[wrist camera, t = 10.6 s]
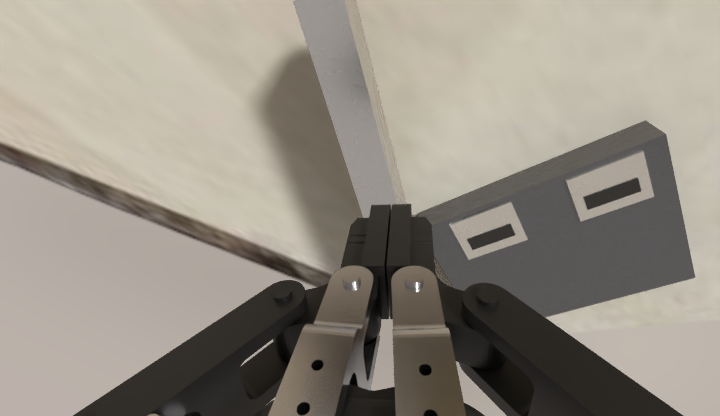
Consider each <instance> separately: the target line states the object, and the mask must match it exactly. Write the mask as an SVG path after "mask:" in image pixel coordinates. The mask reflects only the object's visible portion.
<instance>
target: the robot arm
mask: <svg viewBox="0 0 720 416" xmlns="http://www.w3.org/2000/svg"><path fill="white" fill-rule="evenodd" d="M389 306H390V318H391V319H393V355H394V382H395V387H392V388H387V389H382V390H377V391H371V384H372V379H373V373H374V368H375V362H376V357H377V351H378V346H379V340H380V336H379V332H380V327H381V319H389ZM272 339H273V341H274V342H273V343H271V344H270V345H268V346H267V347H266V348H264V349H263V350H262V351H261V352H259V353H258V354H257V355H255V356H254V357H253V358H251V359H250V360H249V361H247V362H246V363H245V364H243V365H242V366H241V364H242V363H243V362H244V361H245V360H246V359H247V358H248V357H250V356H251V355H252V354H254V353H255V352H256V351H257V350H259V349H260V348H262V347H263V346H264V345H265V344H267V343H268V342H269V341H271V340H272ZM456 361H457V362H459V364H460V366H461V368H462V370H463V371H464V372H465V374H467V376H468V377H469V378H470V379H471V380H472V381H473V382H474V383H475V384H476V385H477V386H478V387H479V388H480V389H481V390H482V391H483V392H484V393H485V394H486V395H487V396H488V397H489V398H490V399H491V400H492V401H493V402H494V403H495V404H496V405H497V406H498V407H499V408H500V409H501V410H502V411H503V412H504V413H505V414H506V415H507V416H683V415H681V414H680V413H679V412H677V411H676V410H674V409H673V408H671V407H670V406H669V405H667V404H666V403H665V402H663V401H662V400H660V399H659V398H658V397H656V396H655V395H653V394H652V393H650V392H649V391H648V390H646V389H645V388H643V387H642V386H640V385H639V384H638V383H636V382H635V381H634V380H632V379H631V378H629V377H628V376H627V375H625V374H624V373H622V372H621V371H619V370H618V369H616V368H615V367H614V366H612V365H611V364H610V363H608V362H607V361H605V360H604V359H602V358H601V357H599V356H598V355H597V354H596V353H594V352H593V351H591V350H590V349H588V348H587V347H586V346H584V345H583V344H581V343H580V342H579V341H577V340H576V339H574V338H573V337H572V336H570V335H569V334H567V333H566V332H565V331H563V330H562V329H560V328H559V327H557V326H556V325H555V324H553V323H552V322H550V321H549V320H548V319H546V318H545V317H543V316H542V315H541V314H539V313H538V312H536V311H535V310H534V309H532V308H531V307H529V306H528V305H526V304H525V303H524V302H522V301H521V300H519V299H518V298H517V297H515V296H514V295H512V294H511V293H510V292H508V291H507V290H505V289H504V288H502V287H500V286H498V285H495V284H491V283H476V284H473V285H471V286H469V287H468V288H467V289H466V290H465V291H463V290H459V289H455V288H452V287H449V286H447V285H446V284H444V283H443V282H441V281H440V280H439V279H438V277H437V275H436V273H435V264H434V250H433V236H432V224H431V223H430V222H429V221H428V219H427V218H426V217H412V215H411V204H392V209H391V204H385V205H371V210H370V215H369V218H357V220H356V221H355V222H354V223H353V224H352V225H351V227H350V231H349V237H348V239H347V244H346V248H345V252H344V256H343V260H342V264H341V268H340V269H339V270H337V271H336V272H335V273H334V274H333V275H332V277H331V279H330V281H329V283H328V284H326V285H324V286H321V287H317V288H313V289H308V290H305V289H304V287H303V285H302V284H301V283H299V282H297V281H293V280H285V281H280V282H277V283H274V284H272V285H271V286H269V287H268V288H266V289H265V290H263V291H262V292H260V293H259V294H257V295H255V296H254V297H252V298H251V299H249V300H248V301H246V302H245V303H243V304H242V305H240V306H239V307H237V308H236V309H235V310H233V311H231V312H230V313H228V314H227V315H225V316H224V317H222V318H221V319H219V320H218V321H216V322H214V323H213V324H211V325H210V326H208V327H207V328H205V329H204V330H202V331H201V332H199V333H198V334H196V335H195V336H193V337H192V338H190V339H189V340H187V341H186V342H184V343H183V344H181V345H180V346H178V347H176V348H175V349H173V350H172V351H170V352H169V353H167V354H166V355H164V356H163V357H161V358H160V359H158V360H157V361H155V362H154V363H152V364H151V365H149V366H148V367H146V368H145V369H143V370H142V371H140V372H139V373H137V374H135V375H134V376H133V377H131V378H130V379H128V380H127V381H125V382H123V383H122V384H120V385H119V386H117V387H116V388H114V389H113V390H111V391H110V392H108V393H107V394H105V395H104V396H102V397H101V398H99V399H98V400H96V401H94V402H93V403H92V404H90V405H88V406H87V407H85V408H84V409H82V410H81V411H79V412H78V413H76V414H75V415H73V416H484V415H483V414H482V413H480V412H479V411H477V410H476V409H474V408H473V407H471V406H469V405H468V404H465V403H464V402H463V397H462V392H461V386H460V381H459V376H458V371H457V366H456ZM240 366H241V367H240ZM274 397H275V400H273V401H271V400H272V399H273V398H274ZM270 401H271V402H270ZM269 402H270V403H269ZM266 404H267V405H266ZM265 405H266V406H265Z"/></svg>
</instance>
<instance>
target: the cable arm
mask: <svg viewBox="0 0 720 416" xmlns="http://www.w3.org/2000/svg"><path fill="white" fill-rule="evenodd" d="M293 2H294V5H295V8H296V11H297V15H298V18H299V21H300V24H301V27H302V30H303V33H304V36H305V39H306V42H307V46H308V49H309V52H310V55H311V58H312V61H313V64H314V67H315V70H316V73H317V76H318V80H319V83H320V86H321V89H322V92H323V95H324V98H325V101H326V104H327V107H328V110H329V114H330V117H331V120H332V123H333V126H334V129H335V132H336V135H337V138H338V141H339V144H340V148H341V151H342V154H343V157H344V160H345V163H346V166H347V169H348V172H349V175H350V178H351V182H352V185H353V188H354V191H355V194H356V197H357V200H358V203H359V206H360V209H361V212H362V216H363V218H369V215H370V210H371V205H385V204H391V209H392V204H407V203H406V199H405V195H404V191H403V187H402V183H401V179H400V175H399V171H398V167H397V163H396V159H395V155H394V151H393V147H392V143H391V139H390V135H389V131H388V127H387V123H386V119H385V115H384V111H383V107H382V103H381V99H380V95H379V91H378V86H377V82H376V78H375V74H374V70H373V66H372V62H371V58H370V54H369V50H368V46H367V42H366V38H365V34H364V30H363V26H362V22H361V18H360V14H359V10H358V6H357V2H356V0H295V1H293ZM389 315H390V306H389Z"/></svg>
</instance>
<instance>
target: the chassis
mask: <svg viewBox="0 0 720 416" xmlns="http://www.w3.org/2000/svg"><path fill="white" fill-rule="evenodd" d="M418 217H426V218H427V219H428V221H429V222H430V223H431V224H432V236H433V250H434V256H435V258H436V260H437V261H438V263H439V265H440V266H441V268H442V270H443V271H444V273H445V275H446V276H447V278H448V280H449V281H450V283H451V285H452V286H453V288H455V289H459V290H463V291H465V290H466V289H467V288H468V287H469V286H471V285H473V284H476V283H491V284H495V285H498V286H500V287H502V288H504V289H505V290H507V291H508V292H510V293H511V294H512V295H514V296H515V297H517V298H518V299H519V300H521V301H522V302H524V303H525V304H526V305H528V306H529V307H531V308H532V309H534V310H535V311H536V312H538V313H539V314H541V315H542V316H543V317H549V316H552V315H556V314H560V313H564V312H567V311H571V310H575V309H579V308H583V307H586V306H590V305H594V304H598V303H602V302H605V301H609V300H613V299H617V298H621V297H624V296H628V295H632V294H636V293H639V292H643V291H647V290H651V289H655V288H658V287H662V286H666V285H670V284H674V283H677V282H681V281H685V280H689V279H693V278H695V274H694V269H693V265H692V260H691V255H690V250H689V245H688V240H687V235H686V230H685V225H684V220H683V215H682V210H681V206H680V201H679V196H678V191H677V186H676V181H675V176H674V171H673V166H672V161H671V156H670V151H669V147H668V142H667V137H666V134H665V133H663V132H662V131H660V130H659V129H657V128H656V127H654V126H653V125H652V124H650V123H649V122H647V121H644V122H641V123H639V124H636V125H634V126H631V127H629V128H626V129H624V130H622V131H619V132H617V133H614V134H612V135H609V136H607V137H604V138H602V139H599V140H597V141H595V142H592V143H590V144H587V145H585V146H582V147H580V148H577V149H575V150H572V151H570V152H568V153H565V154H563V155H560V156H558V157H555V158H553V159H550V160H548V161H545V162H543V163H541V164H538V165H536V166H533V167H531V168H528V169H526V170H523V171H521V172H518V173H516V174H514V175H511V176H509V177H506V178H504V179H501V180H499V181H496V182H494V183H491V184H489V185H487V186H484V187H482V188H479V189H477V190H474V191H472V192H469V193H467V194H464V195H462V196H460V197H457V198H455V199H452V200H450V201H447V202H445V203H442V204H440V205H437V206H435V207H433V208H430V209H428V210H425V211H423V212H420V213H418Z"/></svg>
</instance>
